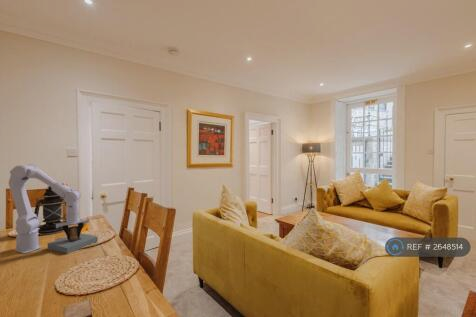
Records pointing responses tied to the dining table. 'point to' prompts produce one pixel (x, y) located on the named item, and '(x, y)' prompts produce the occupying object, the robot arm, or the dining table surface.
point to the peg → (73, 233)
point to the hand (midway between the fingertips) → (73, 238)
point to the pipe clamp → (85, 227)
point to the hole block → (72, 243)
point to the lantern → (50, 212)
